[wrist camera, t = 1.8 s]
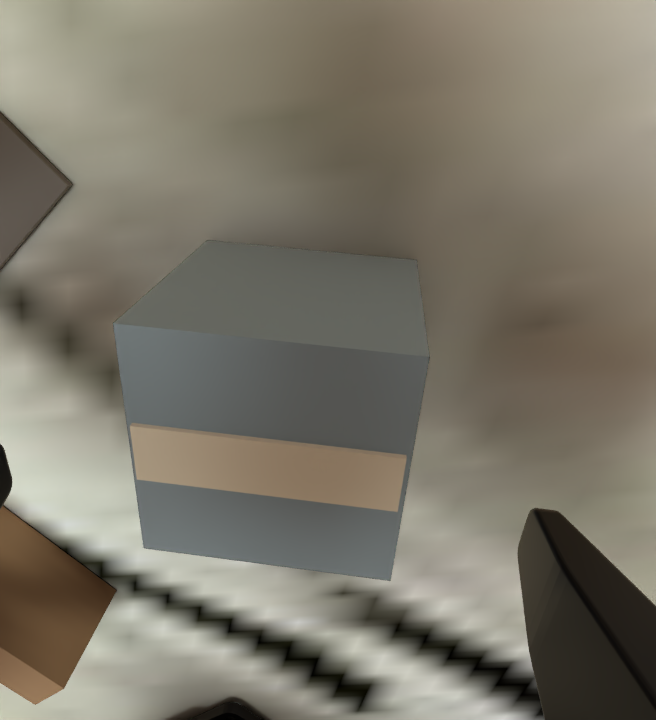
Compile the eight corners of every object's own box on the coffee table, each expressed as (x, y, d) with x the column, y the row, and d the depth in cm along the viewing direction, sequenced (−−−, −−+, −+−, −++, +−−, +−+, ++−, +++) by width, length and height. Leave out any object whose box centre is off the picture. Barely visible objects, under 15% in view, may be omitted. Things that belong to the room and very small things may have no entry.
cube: (416, 259, 13) (429, 360, 8) (391, 432, 15) (390, 585, 10) (208, 239, 13) (109, 325, 8) (215, 412, 15) (141, 552, 11)
